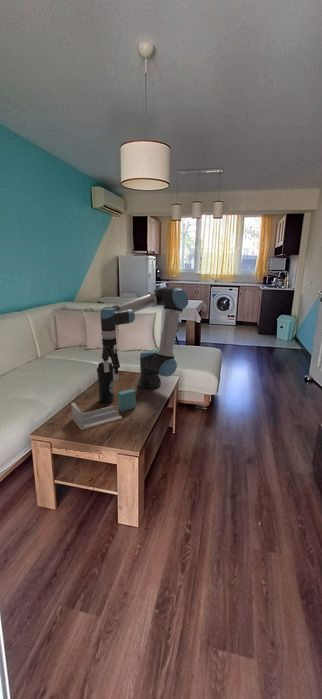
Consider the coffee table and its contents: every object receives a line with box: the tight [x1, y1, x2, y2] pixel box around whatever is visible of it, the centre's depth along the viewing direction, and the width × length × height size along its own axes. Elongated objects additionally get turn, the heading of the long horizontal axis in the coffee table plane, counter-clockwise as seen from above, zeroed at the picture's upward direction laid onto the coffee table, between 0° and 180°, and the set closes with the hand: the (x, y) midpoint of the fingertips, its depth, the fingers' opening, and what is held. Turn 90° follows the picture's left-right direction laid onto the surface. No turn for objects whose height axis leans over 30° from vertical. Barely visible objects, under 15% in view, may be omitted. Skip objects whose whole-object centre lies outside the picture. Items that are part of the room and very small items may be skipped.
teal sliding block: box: [117, 388, 137, 412], centre depth 183 cm, size 9×4×10 cm, turn 122°
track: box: [70, 402, 123, 431], centre depth 171 cm, size 22×14×9 cm, turn 122°
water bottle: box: [96, 361, 115, 404], centre depth 191 cm, size 10×10×23 cm
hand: (111, 375), depth 178 cm, fingers open, 13 cm apart
